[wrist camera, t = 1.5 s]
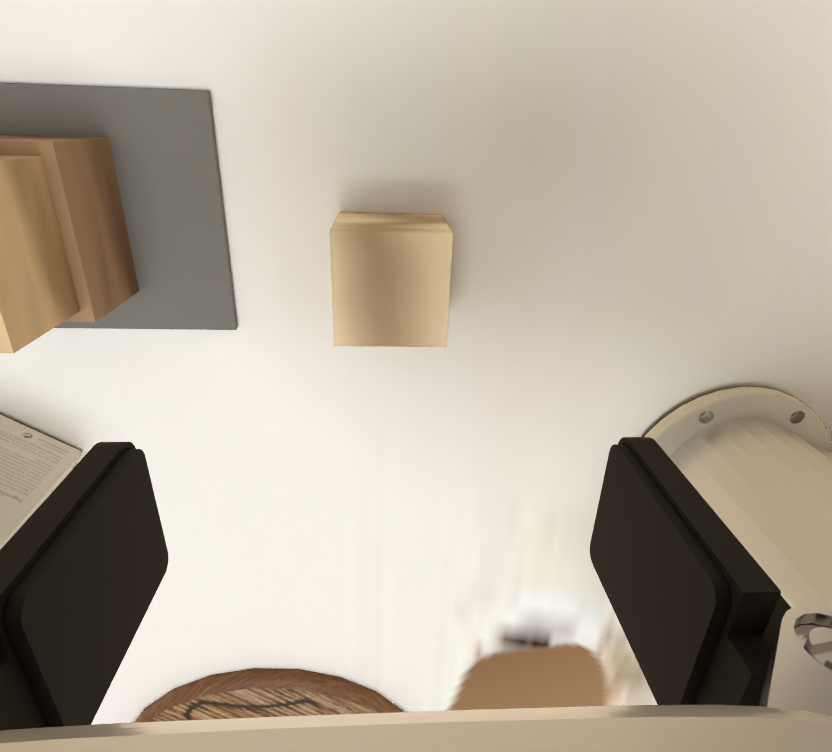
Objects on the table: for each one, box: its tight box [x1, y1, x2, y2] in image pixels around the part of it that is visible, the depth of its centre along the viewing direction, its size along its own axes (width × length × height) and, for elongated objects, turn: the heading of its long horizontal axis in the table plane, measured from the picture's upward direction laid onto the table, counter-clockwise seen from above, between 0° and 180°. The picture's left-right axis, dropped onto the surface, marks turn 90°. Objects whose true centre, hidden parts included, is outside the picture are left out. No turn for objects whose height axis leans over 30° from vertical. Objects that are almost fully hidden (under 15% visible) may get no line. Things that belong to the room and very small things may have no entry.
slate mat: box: [0, 83, 237, 330], centre depth 25 cm, size 16×11×1 cm
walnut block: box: [0, 134, 139, 322], centre depth 23 cm, size 7×7×4 cm
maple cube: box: [330, 212, 453, 347], centre depth 25 cm, size 5×5×5 cm
